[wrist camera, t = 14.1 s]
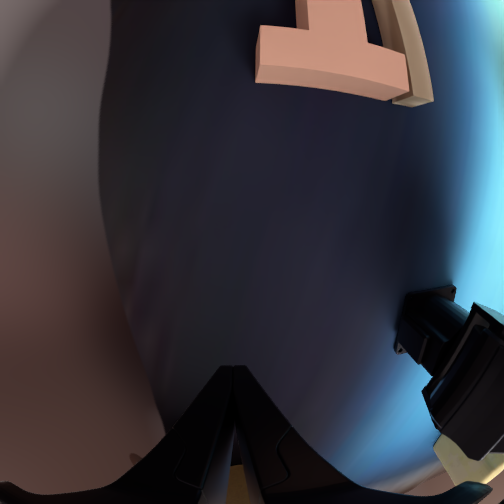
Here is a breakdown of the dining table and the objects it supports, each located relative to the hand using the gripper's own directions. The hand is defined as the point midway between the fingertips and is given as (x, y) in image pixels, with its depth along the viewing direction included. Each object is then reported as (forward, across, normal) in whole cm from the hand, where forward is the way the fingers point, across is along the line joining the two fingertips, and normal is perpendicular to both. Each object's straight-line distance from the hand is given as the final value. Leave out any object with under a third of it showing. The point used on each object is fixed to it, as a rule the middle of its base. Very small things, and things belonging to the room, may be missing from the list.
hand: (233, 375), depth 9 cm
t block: (+12, -7, -18) cm, 22 cm away
